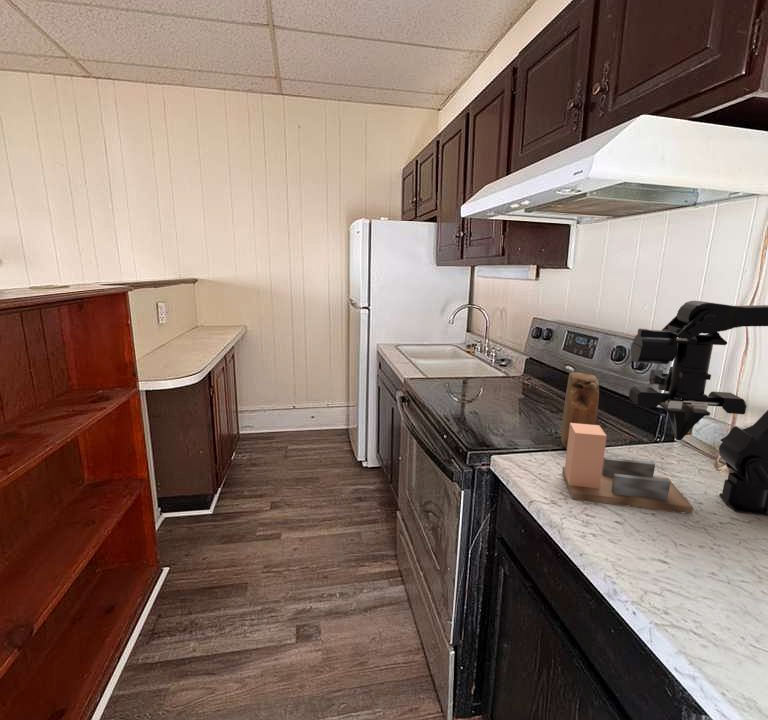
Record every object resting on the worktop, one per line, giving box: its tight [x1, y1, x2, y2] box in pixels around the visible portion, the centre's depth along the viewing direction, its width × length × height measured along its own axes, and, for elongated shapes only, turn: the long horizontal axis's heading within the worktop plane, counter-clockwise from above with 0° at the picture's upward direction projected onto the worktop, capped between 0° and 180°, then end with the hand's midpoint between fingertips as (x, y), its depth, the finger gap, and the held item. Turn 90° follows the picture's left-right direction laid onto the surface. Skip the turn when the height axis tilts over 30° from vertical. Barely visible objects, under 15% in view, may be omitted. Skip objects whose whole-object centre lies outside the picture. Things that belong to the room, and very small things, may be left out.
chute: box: [562, 456, 694, 514], centre depth 90 cm, size 22×12×6 cm, turn 77°
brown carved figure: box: [560, 371, 600, 450], centre depth 111 cm, size 11×8×20 cm
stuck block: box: [564, 423, 607, 489], centre depth 91 cm, size 6×6×12 cm
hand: (677, 439), depth 86 cm, fingers closed
